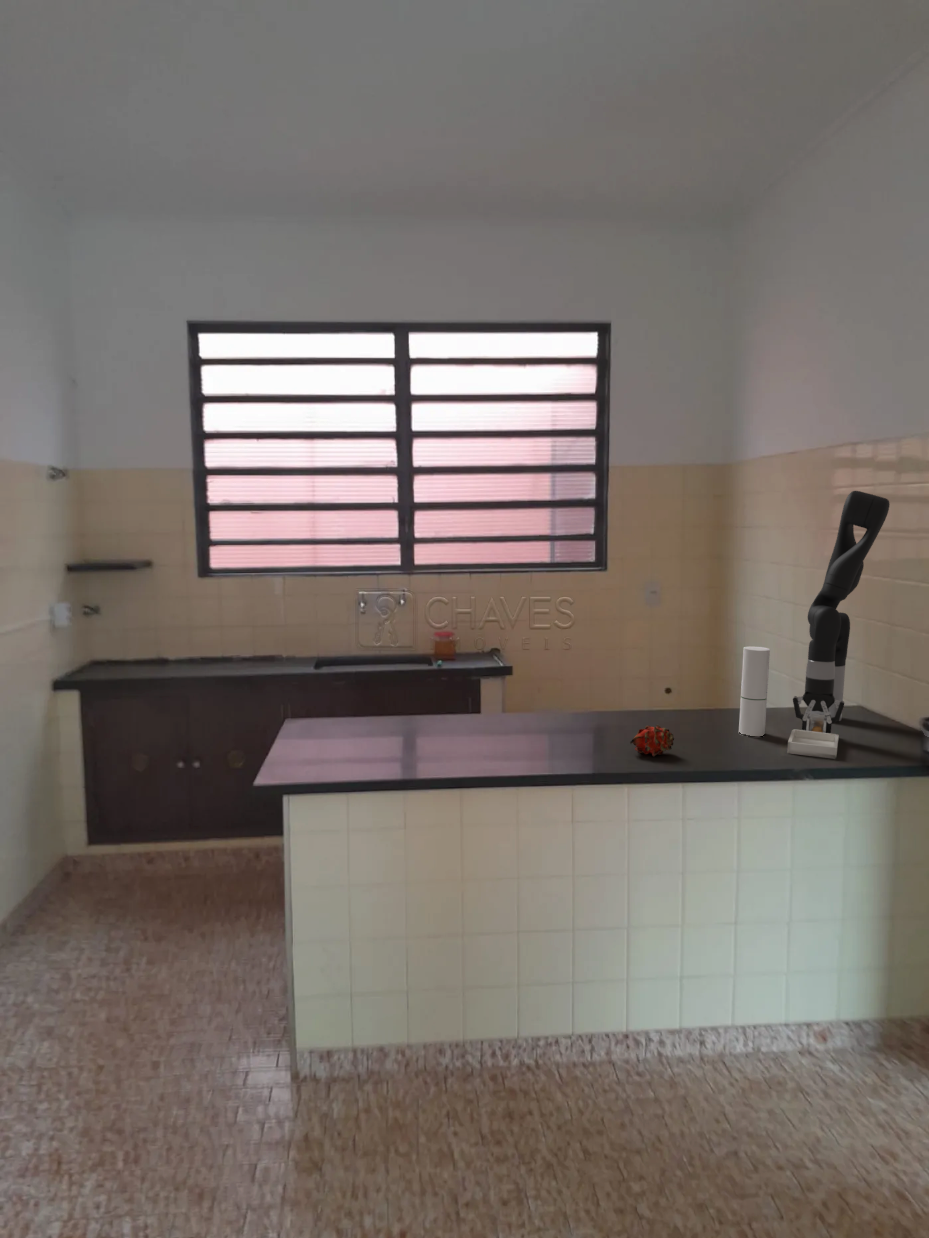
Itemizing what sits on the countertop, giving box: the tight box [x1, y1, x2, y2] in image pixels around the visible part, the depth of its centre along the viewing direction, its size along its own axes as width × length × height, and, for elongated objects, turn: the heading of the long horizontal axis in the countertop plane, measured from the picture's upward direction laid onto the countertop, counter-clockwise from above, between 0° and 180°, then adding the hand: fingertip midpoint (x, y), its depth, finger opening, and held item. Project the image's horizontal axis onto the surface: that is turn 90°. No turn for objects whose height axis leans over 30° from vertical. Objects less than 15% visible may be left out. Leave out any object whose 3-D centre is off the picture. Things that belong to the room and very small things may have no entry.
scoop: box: [806, 713, 827, 733], centre depth 246 cm, size 8×5×6 cm, turn 155°
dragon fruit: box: [629, 724, 675, 757], centre depth 227 cm, size 8×8×12 cm
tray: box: [786, 728, 840, 760], centre depth 234 cm, size 15×12×3 cm
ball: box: [811, 726, 823, 733], centre depth 245 cm, size 3×3×3 cm
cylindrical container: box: [738, 645, 771, 737], centre depth 248 cm, size 7×7×25 cm
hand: (816, 734), depth 246 cm, fingers closed on scoop, 5 cm apart
